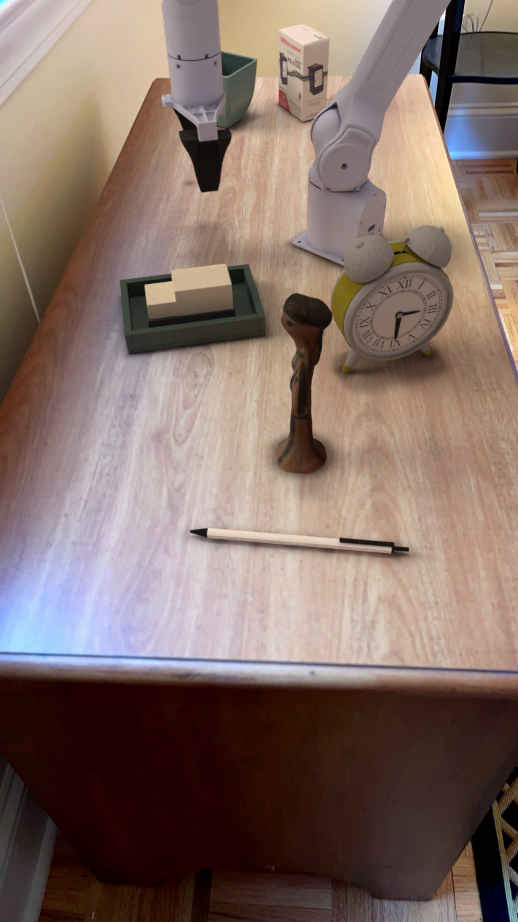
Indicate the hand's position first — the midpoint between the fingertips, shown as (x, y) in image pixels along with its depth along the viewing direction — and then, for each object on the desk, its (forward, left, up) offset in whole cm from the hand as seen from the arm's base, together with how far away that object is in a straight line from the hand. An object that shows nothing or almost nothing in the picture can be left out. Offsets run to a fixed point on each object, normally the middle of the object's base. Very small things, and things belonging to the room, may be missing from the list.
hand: (204, 174), depth 83 cm
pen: (-37, +30, -10) cm, 49 cm away
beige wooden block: (-8, +12, -9) cm, 18 cm away
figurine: (-31, +21, -10) cm, 39 cm away
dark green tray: (-8, +12, -10) cm, 18 cm away
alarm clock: (-29, +4, -10) cm, 31 cm away
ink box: (+16, -41, -10) cm, 45 cm away
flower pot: (+24, -30, -10) cm, 39 cm away
